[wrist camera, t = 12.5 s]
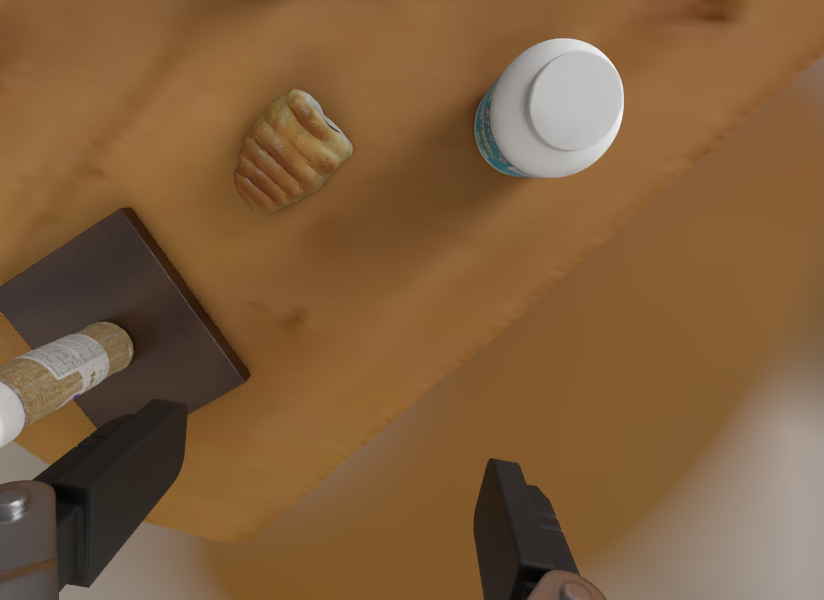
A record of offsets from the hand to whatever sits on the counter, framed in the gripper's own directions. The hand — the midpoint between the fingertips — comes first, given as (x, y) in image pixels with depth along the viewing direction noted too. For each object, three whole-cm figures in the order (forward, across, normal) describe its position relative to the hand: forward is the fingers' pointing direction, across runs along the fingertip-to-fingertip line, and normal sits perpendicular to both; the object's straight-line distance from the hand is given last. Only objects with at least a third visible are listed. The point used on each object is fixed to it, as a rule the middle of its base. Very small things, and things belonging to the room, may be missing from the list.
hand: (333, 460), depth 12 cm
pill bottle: (+28, -8, -13) cm, 32 cm away
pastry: (+28, +9, -7) cm, 30 cm away
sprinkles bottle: (+26, +22, +11) cm, 36 cm away
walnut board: (+28, +22, +10) cm, 36 cm away
